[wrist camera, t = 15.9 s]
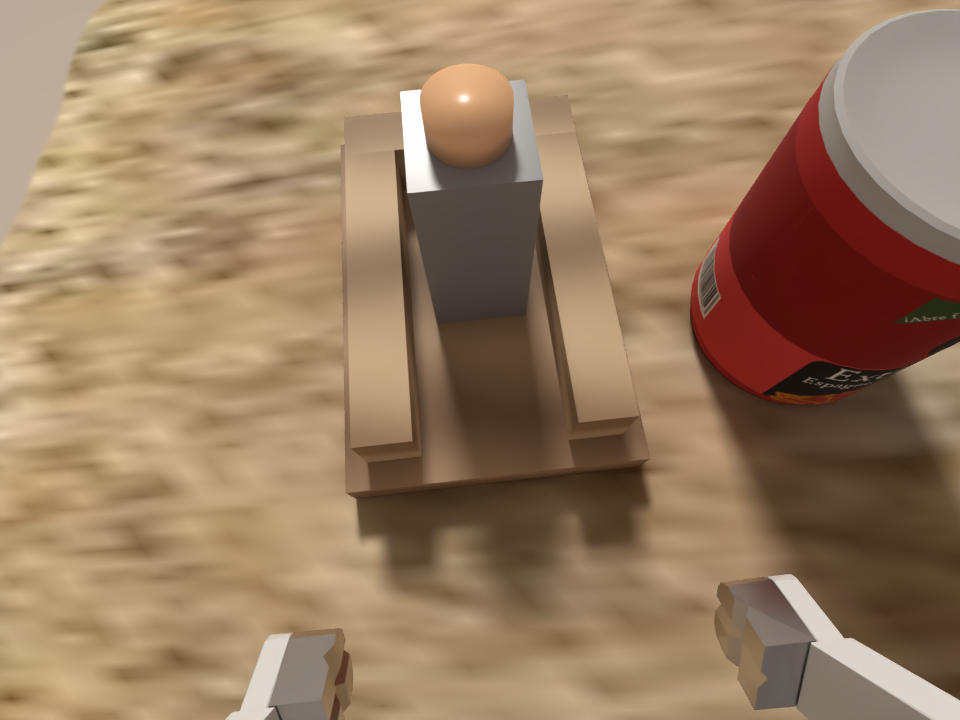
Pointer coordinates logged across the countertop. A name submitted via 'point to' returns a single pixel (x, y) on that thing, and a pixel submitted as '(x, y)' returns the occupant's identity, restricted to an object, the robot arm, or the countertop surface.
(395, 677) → the countertop surface
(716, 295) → the canned food
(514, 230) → the block with orange ball
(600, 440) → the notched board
